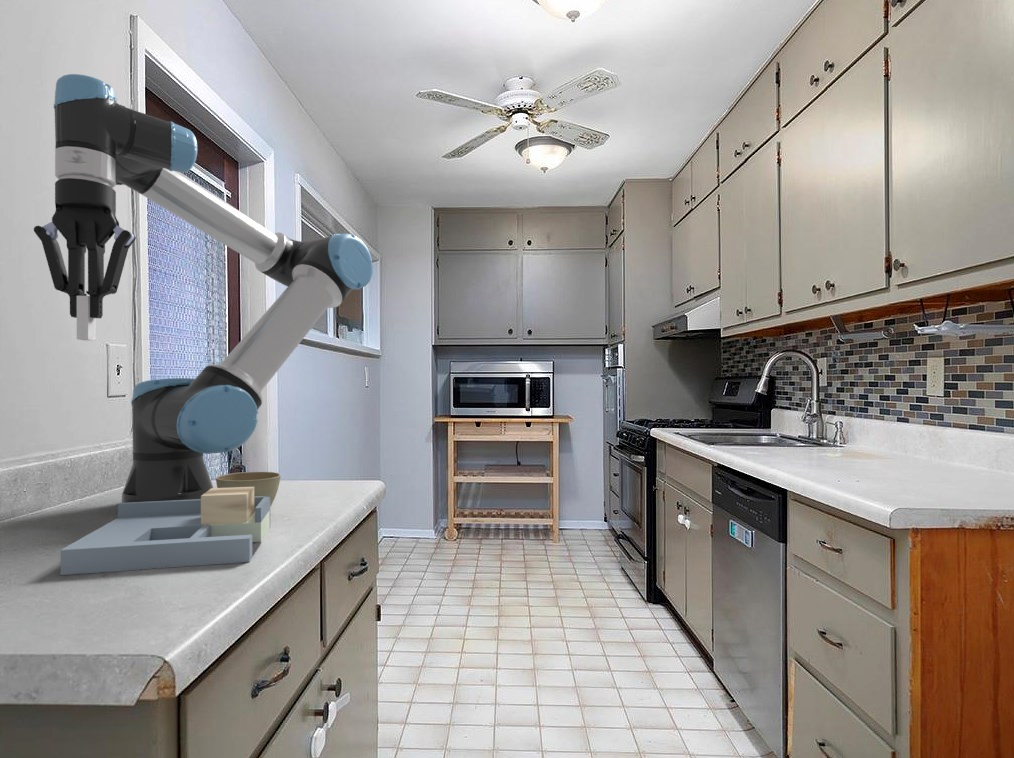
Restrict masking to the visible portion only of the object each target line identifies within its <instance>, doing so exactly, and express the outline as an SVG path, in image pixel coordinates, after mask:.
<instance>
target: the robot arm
mask: <svg viewBox="0 0 1014 758" xmlns="http://www.w3.org/2000/svg"><path fill="white" fill-rule="evenodd" d="M116 96H117V95H116V91H115V90H114V88H113V87H112V86H111V85H109V84H108V83H105V82H104V81H102V80H101V79H99V78H97V77H93V76H89V75H85V74H78V73H72V74H71V73H68V74H64V75H62V76H61V77H59V78H58V79H57V80H56V83H55V91H54V104H53V109H54V130H55V131H54V137H55V146H54V147H55V149H54V150H55V151H54V152H55V153H54V158H55V159H54V176H55V178H56V179H57V180H56V181H55V182H54V204H55V210H54V211H55V212H54V214H53V215H52V217H51V222H48V223H47V224H44V225H42V226H40V225H36V226H33V227H34V228H33V232H34V233H35V235H36V236H37V237H38V239H39V240H40V241H41V244H42V248H43V251H44V255H45V258H46V263H47V265H48V270H49V272H50V276H51V280H52V283H53V286H54V287H53V288H54V289H55V290H56V291H60V292H62V293H65V294H67V295H68V296H69V315H70V317H71V318H76V340H80V341H93V342H94V341H97V334H96V333H97V319H102V318H103V315H104V314H103V310H104V309H103V306H104V305H103V301H104V297H107V296H108V295H109V296H110V295H114V294H116V293H117V292H118V288H119V284H120V281H121V277H122V274H123V270H124V268H125V263H126V259H127V255H128V252H129V249H130V247H131V246H132V245H133V244H134V242H135V241H136V239H137V237H136V235H135V234H133V233H132V232H130V231H129V230H126V229H123V228H122V227H121V226H120V222H119V220H118V219H117V216H116V213H117V210H116V209H117V203H116V202H117V201H116V200H117V194H116V190H115V189H114V188H115V187H116V186H124V185H125V186H126V187H128V188H130V189H131V190H133V191H134V192H136V193H138V194H139V195H142V196H143V197H145V198H147V199H148V200H150V201H151V202H153V203H155V204H157V205H158V206H160V207H161V208H163V209H165V210H167V211H168V212H170V213H172V214H173V215H175V216H176V217H178V218H180V219H181V220H183V221H185V222H186V223H188V224H189V225H191V226H193V227H195V228H197V230H199V231H201V232H203V233H204V234H207V235H208V236H209V237H211V238H213V239H215V240H217V242H220V243H221V244H223V246H226V247H228V248H230V249H231V250H233V251H234V252H236V253H237V254H240V255H241V256H243V257H244V258H246V259H247V260H249V261H251V262H253V263H254V266H255V269H256V270H257V271H259V272H260V273H262V274H264V275H265V276H267V277H269V278H270V279H272V280H274V281H276V282H278V283H279V284H281V285H283V286H285V287H286V288H285V289H284V291H283V292H282V293H281V294H280V295H279V296H278V298H277V299H275V301H274V302H273V303H272V305H271V306H270V307H269V308H268V309H267V310H266V311H265V313H264V314H263V315H262V316H261V317H260V318H259V319H258V321H257V322H256V323H255V324H254V325H253V326H252V327H251V329H250V330H249V331H248V332H247V333H246V334H245V335H244V336H243V338H242V339H241V340H240V341H238V343H237V344H236V345H235V347H234V348H233V349H232V350H231V351H230V353H228V355H227V356H226V357H225V358H224V359H223V361H222V362H221V363H217V364H214V363H213V364H208V365H206V366H205V367H204V368H203V369H202V370H201V372H200V373H199V374H198V375H197V376H196V377H195V378H191V377H178V378H177V377H174V378H173V377H172V378H161V379H151V380H145V381H141V382H139V383H136V385H135V386H134V387H133V390H132V398H131V402H130V403H131V407H132V409H131V410H132V412H131V414H132V415H131V416H132V419H131V420H132V421H131V422H132V423H131V424H132V466H131V469H130V471H129V473H128V477H127V480H126V482H125V486H124V488H123V490H122V493H121V503H128V502H149V501H171V500H192V499H201V496H202V495H203V494H204V493H206V492H207V491H208V490H210V489H211V488H214V485H213V482H212V480H211V477H210V474H209V472H208V469H207V466H206V464H205V461H204V454H206V455H207V454H210V455H211V454H223V453H228V452H232V451H234V450H236V449H238V448H239V447H241V446H243V445H244V444H245V443H246V442H247V441H248V440H249V439H251V437H252V435H253V434H254V431H255V430H256V428H257V425H258V422H259V421H258V420H259V419H258V418H257V415H258V410H259V409H260V408H261V406H262V404H263V402H264V400H263V397H262V391H263V390H264V388H265V387H267V385H268V383H270V381H271V380H272V378H273V377H274V376H275V375H276V373H277V372H278V371H279V370H280V368H281V367H282V366H283V365H284V364H285V362H286V361H287V360H288V358H289V357H290V356H291V354H292V353H294V351H295V350H296V348H297V347H299V345H300V343H301V342H302V341H303V339H304V338H305V337H306V335H308V333H309V332H310V331H311V329H312V328H313V327H314V326H315V325H316V323H317V322H318V320H320V318H321V317H322V316H323V315H324V313H325V312H326V311H327V309H332V308H338V307H339V306H340V305H341V304H342V303H343V302H344V300H345V299H346V298H347V297H348V295H349V294H350V293H351V291H353V290H360V289H362V288H364V287H366V286H367V285H368V284H369V283H370V282H371V279H372V277H373V272H374V265H373V258H372V256H371V255H372V254H371V252H370V250H369V248H368V246H367V245H366V243H364V241H363V240H362V239H361V238H359V237H358V236H356V235H353V234H351V233H335V234H333V235H331V236H330V235H329V236H325V237H322V238H321V237H320V238H318V239H317V238H316V239H311V240H307V241H300V240H295V239H291V238H290V237H288V236H287V235H285V234H284V233H282V232H275V233H274V232H272V231H270V229H268V228H267V227H265V226H263V225H262V224H260V223H258V222H257V221H255V220H254V219H253V218H251V217H249V216H248V215H246V214H245V213H244V212H242V211H240V210H239V209H237V208H235V207H234V206H232V204H230V203H228V202H226V200H223V199H222V198H220V197H219V196H218V195H216V194H215V193H213V192H211V191H210V190H208V189H207V188H205V187H204V186H203V185H200V184H199V183H197V182H196V180H195V181H194V180H193V179H191V178H190V177H188V176H187V175H185V174H184V173H188V172H189V171H190V170H191V169H192V168H193V167H194V165H195V163H196V161H197V156H198V141H197V138H196V136H195V134H194V133H193V131H191V129H188V128H187V127H184V126H182V125H180V124H177V123H174V122H173V121H168V120H165V119H162V118H159V117H156V116H152V115H150V114H147V113H144V112H141V111H138V110H135V109H132V108H129V107H126V106H125V105H122V104H119V103H118V102H117V101H118V99H117V98H116ZM58 232H59V233H60V234H61V235H62V236H63V238H64V239H65V241H66V248H67V252H68V254H67V255H68V256H67V263H68V264H67V265H68V266H67V267H66V265H65V261H64V258H63V253H62V251H61V250H62V249H61V247H60V244H59V242H58V240H57V239H58V238H59V234H58ZM112 237H113V238H114V242H113V245H112V248H111V252H110V256H109V260H108V261H107V262H108V263H107V266H106V270H105V268H104V267H105V266H104V265H105V264H104V263H105V262H104V261H105V253H106V244H107V243H108V241H109V240H110V239H111V238H112ZM86 253H87V290H85V289H86V287H85V285H86V284H85V282H86V281H85V279H86V277H85V276H86V275H85V274H86V273H85V272H86V262H85V260H86V257H85V254H86ZM67 268H68V270H67ZM104 271H105V272H104ZM104 273H105V274H104Z"/></svg>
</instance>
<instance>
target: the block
mask: <svg viewBox="0 0 1014 758" xmlns="http://www.w3.org/2000/svg"><path fill="white" fill-rule="evenodd" d="M253 514H254V487H233V488H217V487H213V488H211V489H210V490H208V491H207V492H206V493H204V494H203V495H202V496H201V524H218V523H238V522H247V521H248V520H249V519H250V517H251V516H252V515H253Z"/></svg>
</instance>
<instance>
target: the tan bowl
mask: <svg viewBox="0 0 1014 758" xmlns="http://www.w3.org/2000/svg"><path fill="white" fill-rule="evenodd" d="M281 476H282V474H281V473H279V472H275V471H246V472H245V471H243V472H233V473H226V474H220V475H219V476H218V475H217V476H216V477H215V481H216V488H233V487H254V497H257V496H270V508H271V507H272V505H273V503H274V501H275V499H276V496H277V493H278V491H279V486H280V483H281V482H280V481H281Z"/></svg>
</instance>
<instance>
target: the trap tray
mask: <svg viewBox="0 0 1014 758" xmlns="http://www.w3.org/2000/svg"><path fill="white" fill-rule="evenodd" d="M270 529H271V507H270V496H257V497H254V514H253V515H252V516H251V517H250V519H249V520H248V521H247V522H238V523H218V524H201V499H192V500H171V501H149V502H128V503H122V502H119V503H117V518H116V517H115V518H114V520H111V521H110V522H108V523H105V524H104V525H103V526H101V527H99V528H97V529H95V530H94V531H92V532H90V533H88V534H86V535H84V536H83V537H81V538H79V539H78V540H76V541H74V542H73V543H70V544H69V545H66V547H64V548H61V549H60V576H68V575H80V574H84V575H85V574H95V573H96V574H97V573H98V574H99V573H110V572H111V573H112V572H125V571H127V572H128V571H137V570H139V571H140V569H142V570H150V569H151V570H153V569H152V568H156V569H167V568H169V567H170V568H181V567H183V568H184V567H195V566H198V567H199V566H208V565H209V566H211V565H224V564H226V565H227V564H238V563H250V562H251V561H252V558H253V557H254V555H255V554H256V552H257V550H258V549H259V548H260V545H261V544H262V542H263V541H264V539H265V537H266V536H267V534H268V532H269V531H270ZM166 567H167V568H166Z"/></svg>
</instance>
